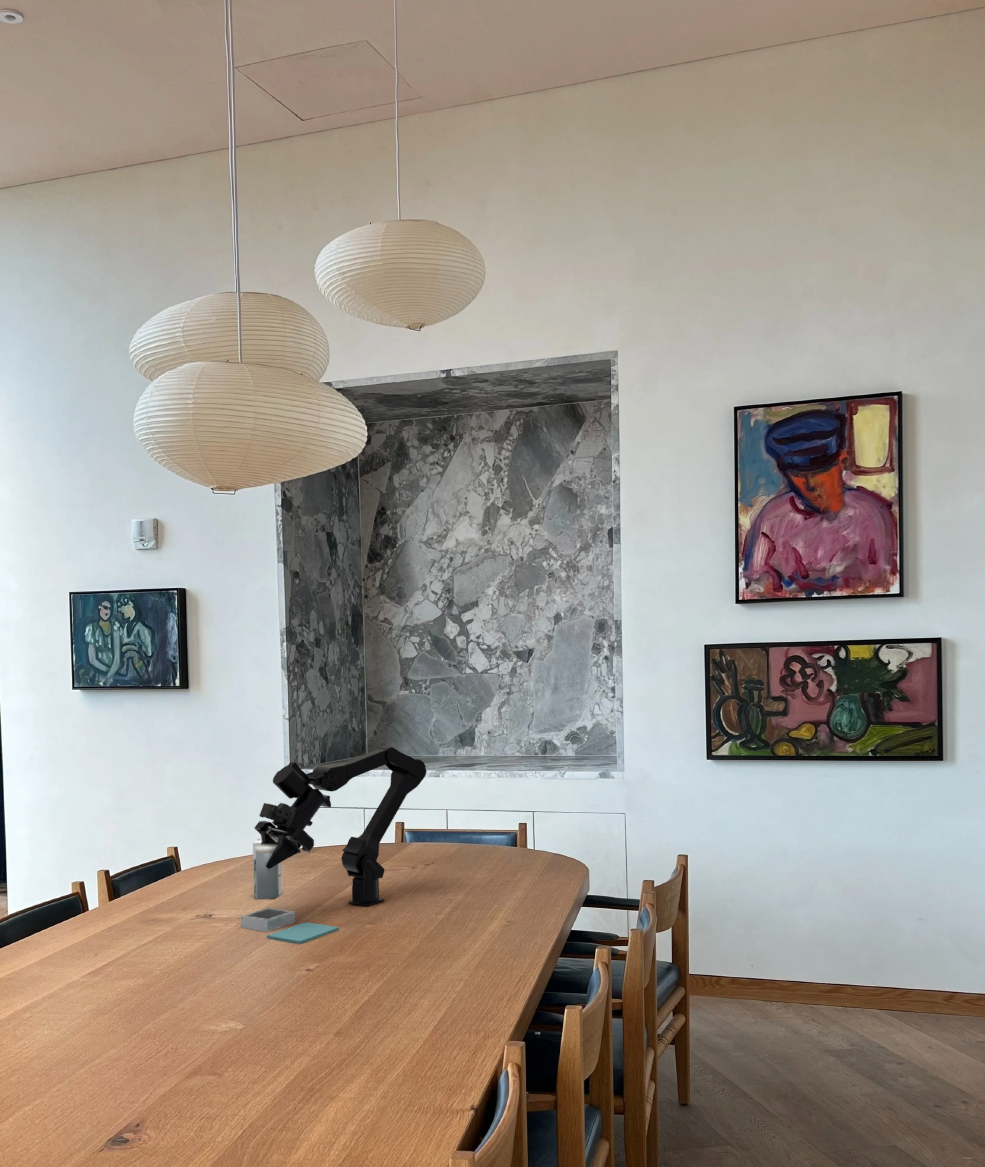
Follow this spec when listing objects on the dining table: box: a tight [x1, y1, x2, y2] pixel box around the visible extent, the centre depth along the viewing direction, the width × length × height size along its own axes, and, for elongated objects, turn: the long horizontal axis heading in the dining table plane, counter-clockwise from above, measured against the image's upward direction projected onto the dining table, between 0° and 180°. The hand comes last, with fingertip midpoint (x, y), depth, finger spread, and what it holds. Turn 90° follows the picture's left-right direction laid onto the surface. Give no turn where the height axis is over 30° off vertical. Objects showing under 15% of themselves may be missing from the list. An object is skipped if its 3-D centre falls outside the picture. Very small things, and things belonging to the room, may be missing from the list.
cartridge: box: [255, 844, 280, 900], centre depth 228 cm, size 5×5×12 cm
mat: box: [266, 921, 340, 945], centre depth 218 cm, size 12×10×1 cm
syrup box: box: [252, 838, 283, 900], centre depth 256 cm, size 6×6×14 cm
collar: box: [240, 907, 296, 933], centre depth 227 cm, size 9×9×2 cm
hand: (261, 866), depth 227 cm, fingers closed on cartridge, 5 cm apart
